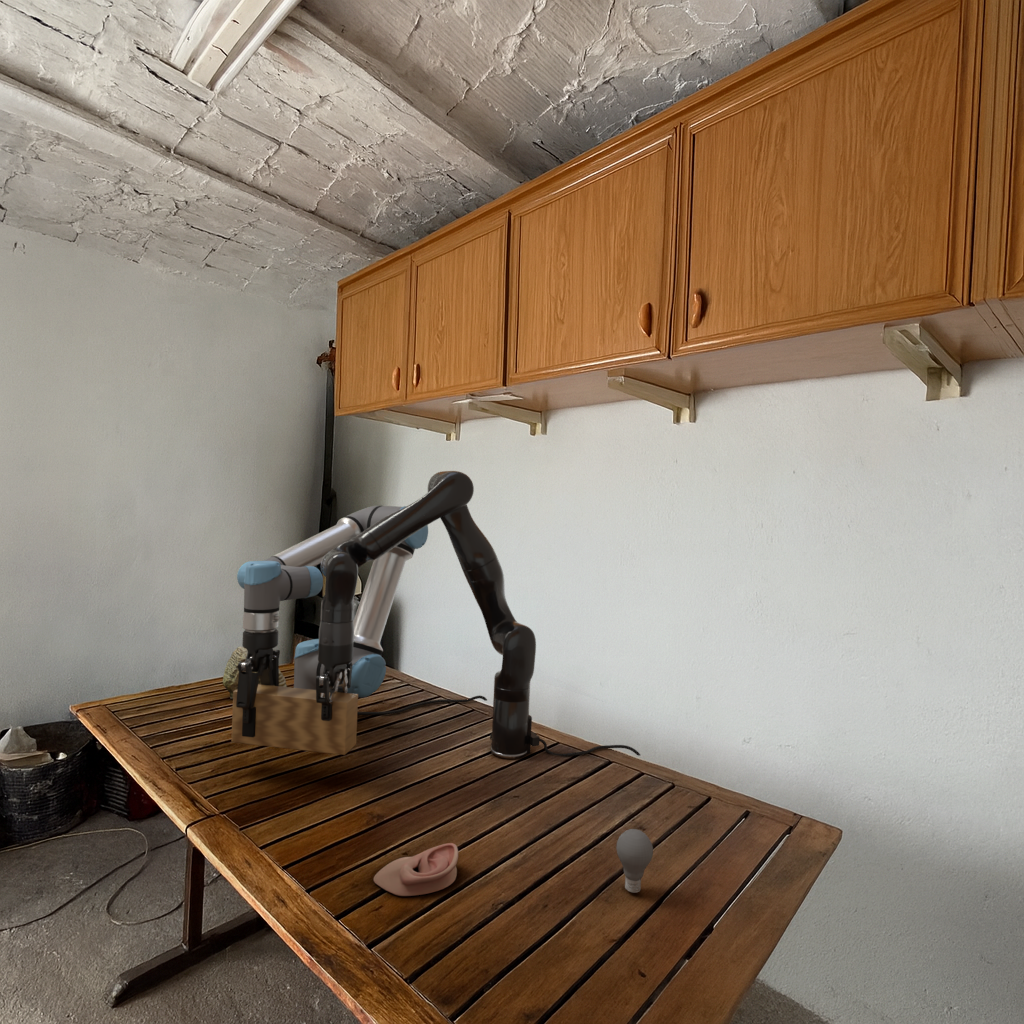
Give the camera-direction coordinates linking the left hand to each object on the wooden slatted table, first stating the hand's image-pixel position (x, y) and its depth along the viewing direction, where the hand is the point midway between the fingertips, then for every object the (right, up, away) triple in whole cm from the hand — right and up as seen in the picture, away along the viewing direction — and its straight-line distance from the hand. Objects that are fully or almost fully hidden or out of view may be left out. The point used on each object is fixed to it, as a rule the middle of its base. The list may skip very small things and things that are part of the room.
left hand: (257, 730), depth 144 cm
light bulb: (+78, -14, -38) cm, 88 cm away
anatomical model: (+42, -12, -37) cm, 57 cm away
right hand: (+18, +4, -3) cm, 19 cm away
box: (+9, -2, -1) cm, 9 cm away
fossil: (-23, -8, +54) cm, 59 cm away
